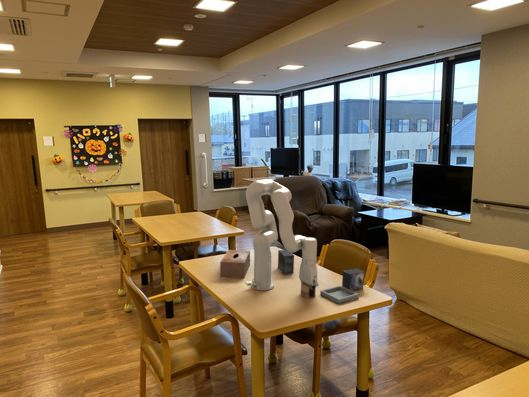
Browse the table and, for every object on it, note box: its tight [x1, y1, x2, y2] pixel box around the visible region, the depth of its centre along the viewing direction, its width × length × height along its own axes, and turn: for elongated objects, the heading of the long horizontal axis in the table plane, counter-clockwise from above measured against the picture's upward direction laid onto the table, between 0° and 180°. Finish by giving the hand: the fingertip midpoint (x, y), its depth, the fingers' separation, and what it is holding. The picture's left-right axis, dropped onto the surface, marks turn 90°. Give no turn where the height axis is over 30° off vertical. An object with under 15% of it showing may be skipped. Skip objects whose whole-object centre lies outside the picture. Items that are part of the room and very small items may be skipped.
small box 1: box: [277, 249, 295, 275], centre depth 242 cm, size 13×7×12 cm, turn 14°
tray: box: [319, 285, 359, 305], centre depth 203 cm, size 14×14×2 cm
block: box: [300, 283, 316, 299], centre depth 204 cm, size 6×6×6 cm
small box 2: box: [341, 268, 365, 292], centre depth 213 cm, size 11×6×10 cm, turn 117°
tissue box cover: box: [219, 249, 251, 280], centre depth 241 cm, size 26×14×10 cm, turn 175°
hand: (308, 293), depth 204 cm, fingers closed on block, 5 cm apart
